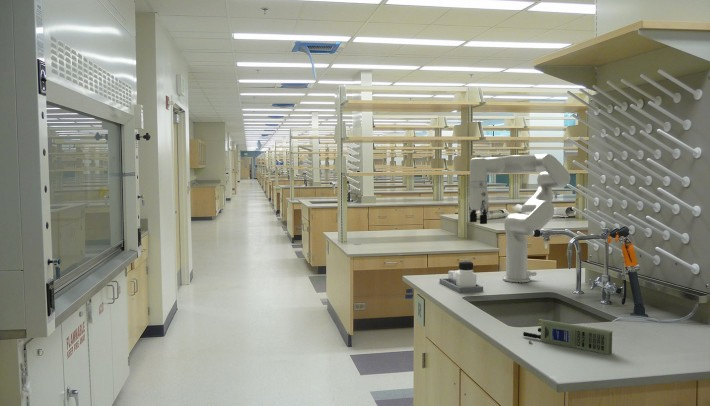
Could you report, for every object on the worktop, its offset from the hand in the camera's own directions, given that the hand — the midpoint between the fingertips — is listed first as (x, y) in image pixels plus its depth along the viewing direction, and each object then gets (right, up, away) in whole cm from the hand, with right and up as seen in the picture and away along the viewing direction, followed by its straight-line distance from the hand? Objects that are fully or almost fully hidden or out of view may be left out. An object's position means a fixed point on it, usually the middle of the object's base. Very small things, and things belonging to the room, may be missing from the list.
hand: (478, 222), depth 237 cm
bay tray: (-9, -29, -6) cm, 31 cm away
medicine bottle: (-8, -29, -11) cm, 31 cm away
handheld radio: (+6, -33, -83) cm, 90 cm away
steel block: (-11, -28, -1) cm, 30 cm away
